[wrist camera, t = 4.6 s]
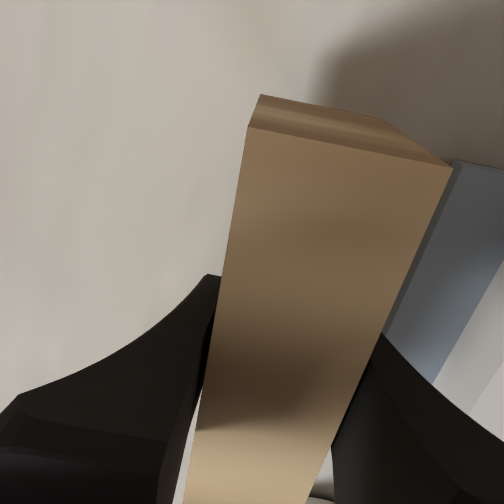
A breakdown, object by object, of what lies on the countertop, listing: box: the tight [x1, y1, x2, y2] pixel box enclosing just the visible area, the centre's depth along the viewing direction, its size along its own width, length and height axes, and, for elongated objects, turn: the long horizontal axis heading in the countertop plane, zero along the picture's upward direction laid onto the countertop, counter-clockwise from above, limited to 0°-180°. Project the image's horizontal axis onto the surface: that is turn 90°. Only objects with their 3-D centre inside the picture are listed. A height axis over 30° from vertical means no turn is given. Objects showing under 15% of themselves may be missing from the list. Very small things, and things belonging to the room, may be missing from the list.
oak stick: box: [183, 94, 453, 504], centre depth 11 cm, size 12×3×5 cm, turn 170°
